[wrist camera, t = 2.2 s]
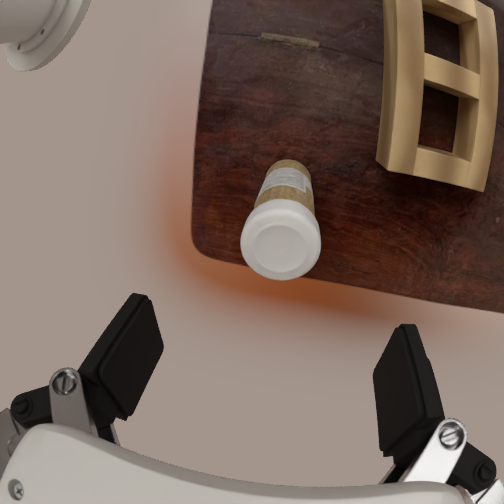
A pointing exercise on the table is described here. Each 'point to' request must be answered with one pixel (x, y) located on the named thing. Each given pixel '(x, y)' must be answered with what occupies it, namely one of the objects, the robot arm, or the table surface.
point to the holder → (444, 79)
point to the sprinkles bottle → (282, 224)
